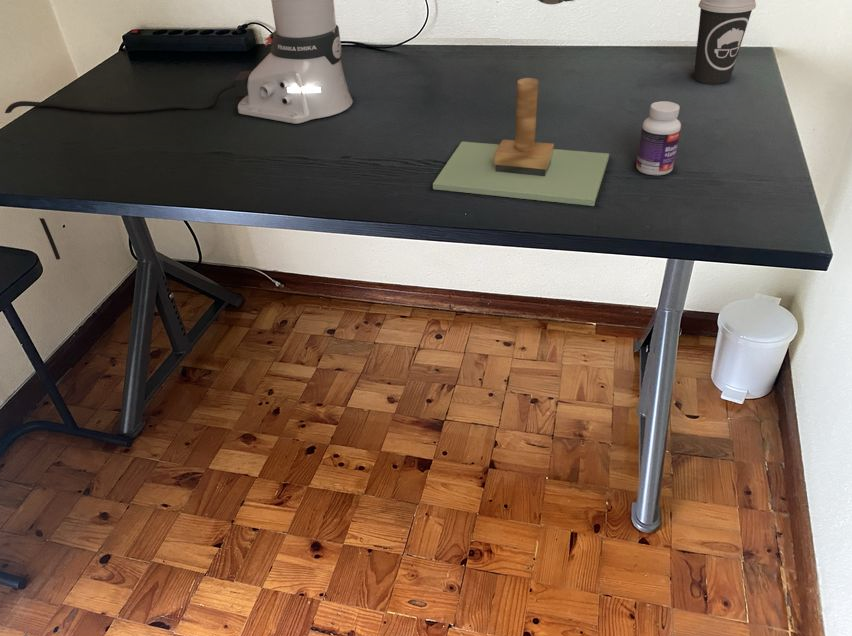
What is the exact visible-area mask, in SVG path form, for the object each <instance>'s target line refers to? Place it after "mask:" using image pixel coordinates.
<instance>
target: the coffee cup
mask: <svg viewBox="0 0 852 636" xmlns="http://www.w3.org/2000/svg"><path fill="white" fill-rule="evenodd" d="M698 7H699V8H700V12H699V22H698V30H697V31H698V32H697V40H696V50H695V61H694V69H693V80H694V81H696V82H698V83H702V84H707V85H721V84H726V83H728V82H729V81H730V80H731V77H732V74H733V72H734V68H735V65H736V62H737V58H738V56H739V52H740V48H741V47H742V42H743V39H744V36H745V33H746V30H747V27H748V24H749V21H750V17H751V14H752V11H753V10H755V9H756V7H757V2H756V0H699V3H698Z"/></svg>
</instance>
